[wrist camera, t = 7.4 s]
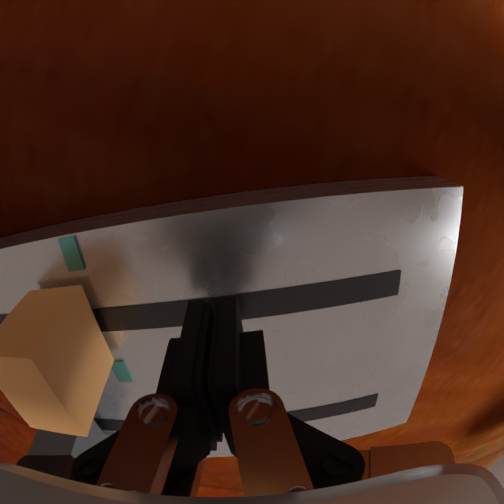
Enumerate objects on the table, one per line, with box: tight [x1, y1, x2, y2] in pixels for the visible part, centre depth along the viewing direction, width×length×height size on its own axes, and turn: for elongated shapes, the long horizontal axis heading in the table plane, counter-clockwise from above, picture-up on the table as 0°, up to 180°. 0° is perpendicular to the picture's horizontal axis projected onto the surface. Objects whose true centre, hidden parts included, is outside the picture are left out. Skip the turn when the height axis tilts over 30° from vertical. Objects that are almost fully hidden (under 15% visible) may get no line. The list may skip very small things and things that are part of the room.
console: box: [0, 176, 463, 457], centre depth 15 cm, size 26×16×2 cm, turn 97°
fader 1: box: [0, 285, 114, 437], centre depth 10 cm, size 3×4×4 cm
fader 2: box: [28, 420, 107, 458], centre depth 13 cm, size 3×4×4 cm
